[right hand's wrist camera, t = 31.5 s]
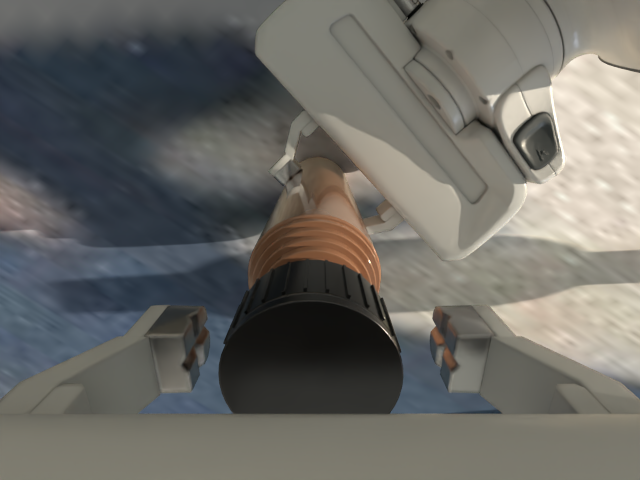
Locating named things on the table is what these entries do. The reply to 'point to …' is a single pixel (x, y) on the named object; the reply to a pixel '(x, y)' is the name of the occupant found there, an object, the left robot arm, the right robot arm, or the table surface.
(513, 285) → the table surface
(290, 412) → the cap
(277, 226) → the bottle
